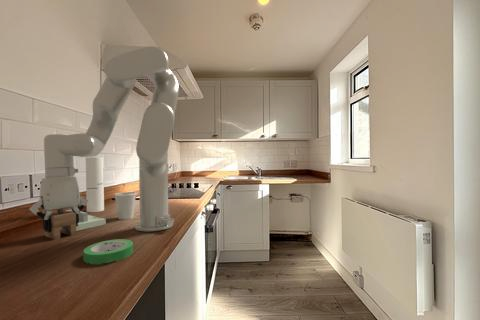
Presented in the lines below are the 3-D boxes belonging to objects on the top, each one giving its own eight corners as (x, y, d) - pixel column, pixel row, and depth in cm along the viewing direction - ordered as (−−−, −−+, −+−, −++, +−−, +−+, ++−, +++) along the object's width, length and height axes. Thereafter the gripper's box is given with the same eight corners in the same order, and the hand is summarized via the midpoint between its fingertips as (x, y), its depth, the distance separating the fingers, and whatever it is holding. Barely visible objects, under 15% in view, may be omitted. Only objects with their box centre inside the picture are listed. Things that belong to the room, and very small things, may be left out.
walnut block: (76, 234, 82) (75, 208, 82) (54, 239, 77) (54, 211, 77) (66, 231, 86) (65, 206, 86) (45, 236, 81) (44, 209, 81)
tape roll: (72, 264, 60) (71, 253, 60) (104, 247, 71) (104, 238, 71) (114, 267, 58) (114, 255, 58) (141, 249, 69) (141, 239, 69)
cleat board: (105, 224, 95) (105, 210, 95) (69, 232, 85) (69, 217, 85) (84, 218, 104) (84, 206, 104) (49, 225, 94) (49, 212, 94)
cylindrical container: (107, 210, 121) (106, 157, 121) (91, 212, 115) (90, 157, 115) (98, 208, 125) (97, 157, 125) (83, 211, 119) (82, 157, 119)
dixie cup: (111, 218, 105) (110, 193, 104) (131, 214, 111) (131, 191, 110) (119, 221, 99) (119, 195, 99) (140, 217, 105) (139, 193, 105)
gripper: (83, 171, 91) (84, 221, 91) (21, 175, 77) (23, 234, 77) (93, 171, 87) (95, 223, 87) (30, 175, 72) (32, 238, 73)
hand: (61, 228), depth 82 cm, fingers open, 6 cm apart
